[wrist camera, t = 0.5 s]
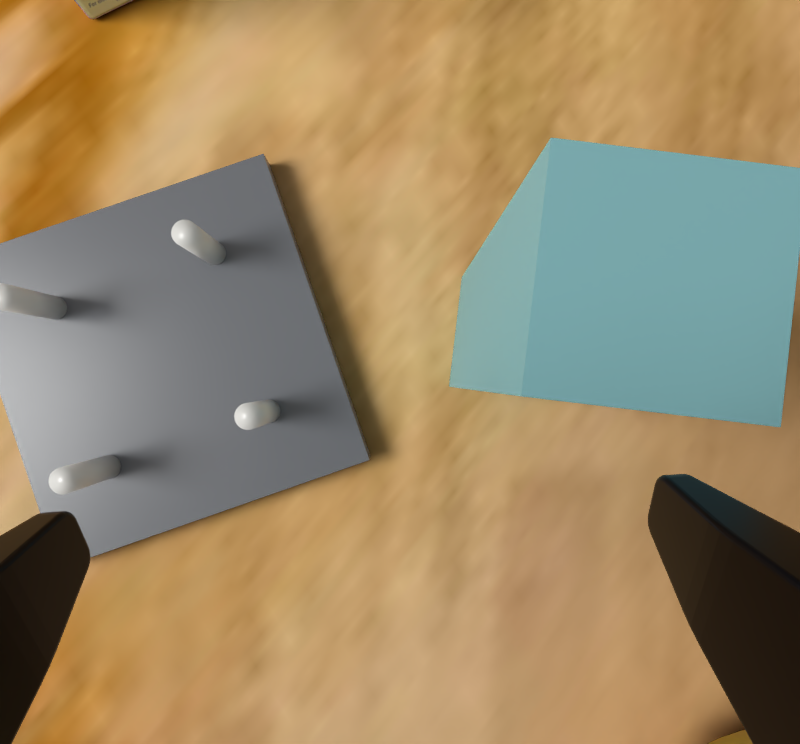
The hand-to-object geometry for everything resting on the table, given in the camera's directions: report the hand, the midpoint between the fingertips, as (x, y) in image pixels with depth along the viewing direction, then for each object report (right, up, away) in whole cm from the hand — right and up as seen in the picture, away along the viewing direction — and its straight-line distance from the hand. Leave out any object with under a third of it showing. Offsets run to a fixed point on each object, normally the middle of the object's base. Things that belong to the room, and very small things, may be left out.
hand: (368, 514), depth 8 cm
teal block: (+5, +4, +15) cm, 16 cm away
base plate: (-10, +3, +15) cm, 18 cm away
